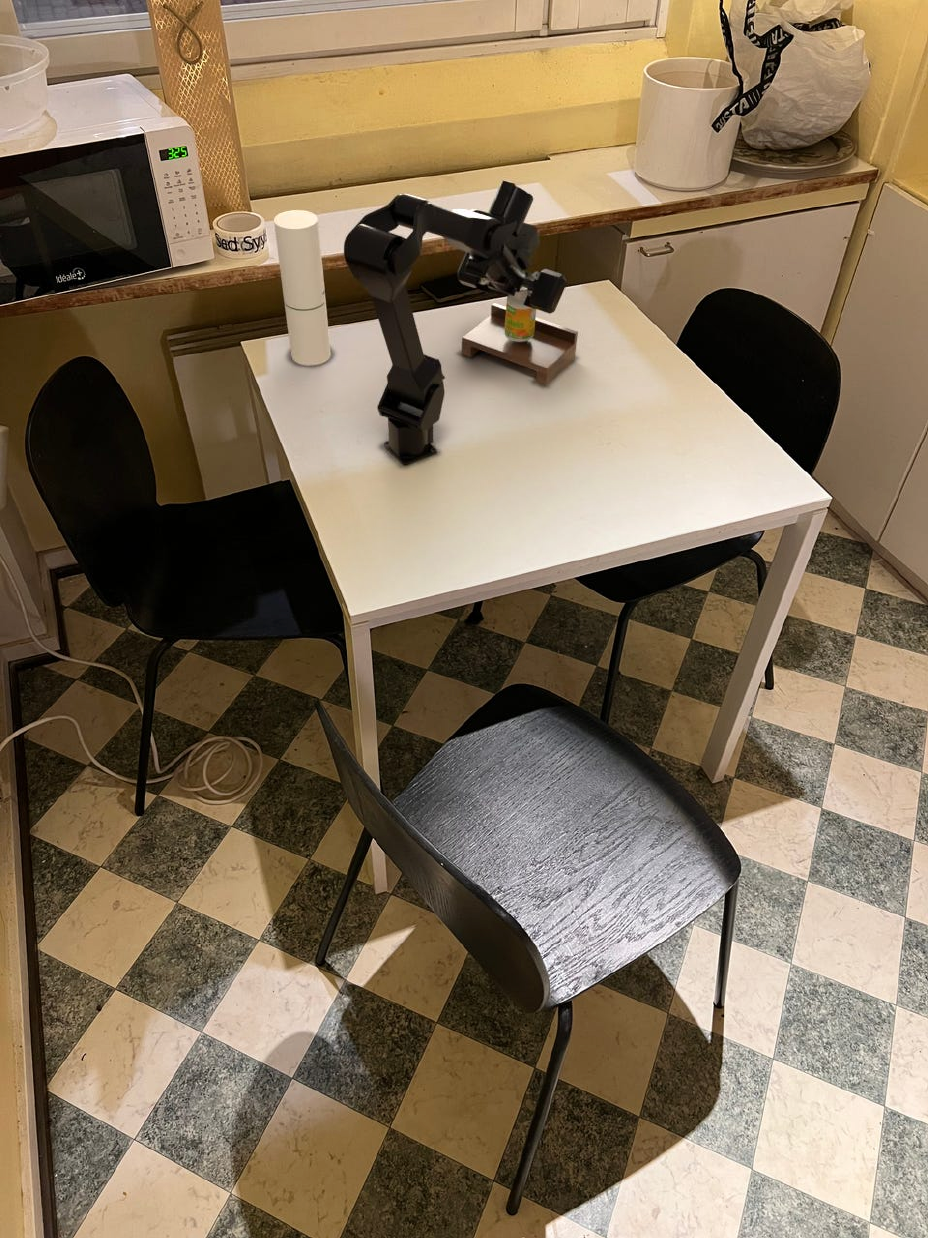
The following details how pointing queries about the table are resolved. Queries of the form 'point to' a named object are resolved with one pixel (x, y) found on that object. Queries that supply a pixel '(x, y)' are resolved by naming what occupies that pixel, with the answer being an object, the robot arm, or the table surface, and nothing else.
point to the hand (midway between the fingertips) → (525, 297)
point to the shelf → (524, 344)
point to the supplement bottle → (519, 318)
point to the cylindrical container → (303, 286)
